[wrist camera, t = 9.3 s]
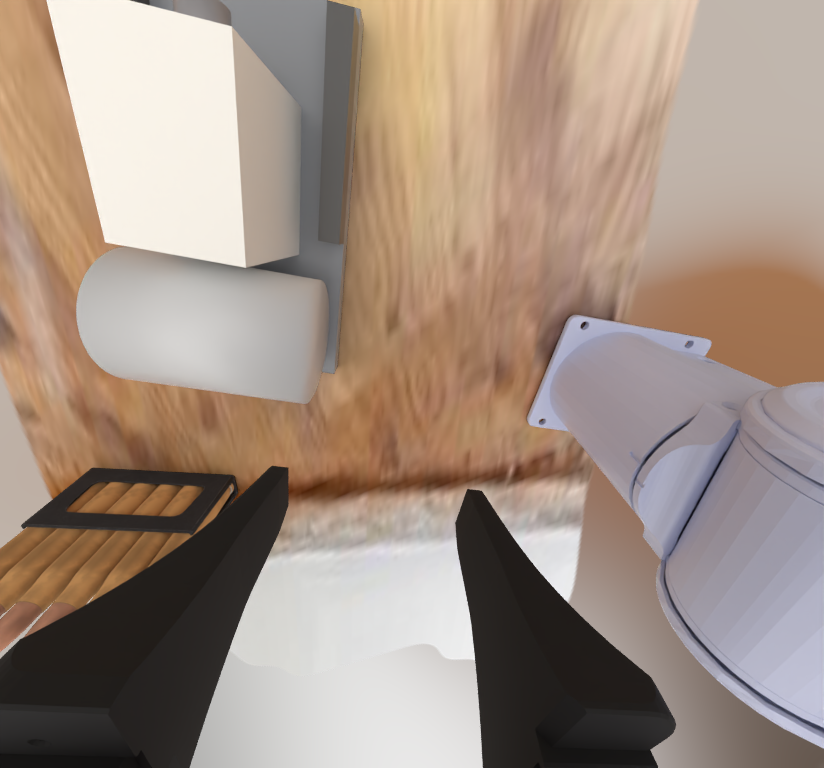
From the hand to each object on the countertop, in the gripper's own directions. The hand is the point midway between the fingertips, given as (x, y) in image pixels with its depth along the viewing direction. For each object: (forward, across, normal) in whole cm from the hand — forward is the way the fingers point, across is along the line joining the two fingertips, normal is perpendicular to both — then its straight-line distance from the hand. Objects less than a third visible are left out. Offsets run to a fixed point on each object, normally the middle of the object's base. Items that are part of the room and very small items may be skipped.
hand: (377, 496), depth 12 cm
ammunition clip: (+10, +16, +11) cm, 22 cm away
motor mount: (+9, +8, -9) cm, 15 cm away
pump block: (+8, +8, -11) cm, 16 cm away
